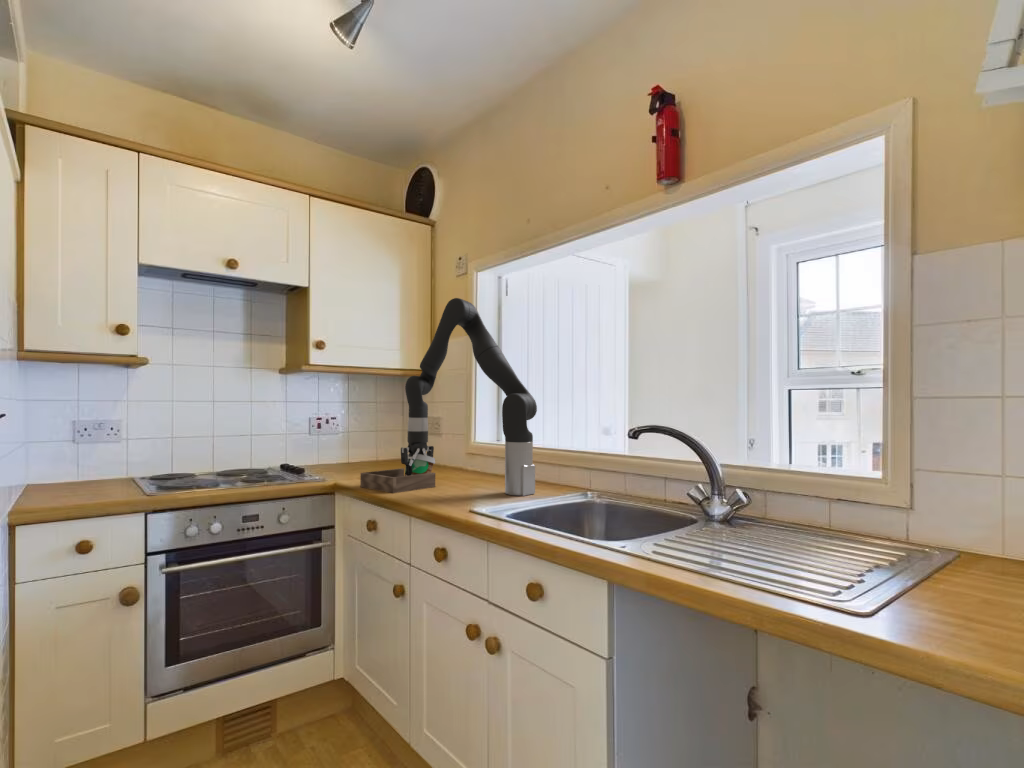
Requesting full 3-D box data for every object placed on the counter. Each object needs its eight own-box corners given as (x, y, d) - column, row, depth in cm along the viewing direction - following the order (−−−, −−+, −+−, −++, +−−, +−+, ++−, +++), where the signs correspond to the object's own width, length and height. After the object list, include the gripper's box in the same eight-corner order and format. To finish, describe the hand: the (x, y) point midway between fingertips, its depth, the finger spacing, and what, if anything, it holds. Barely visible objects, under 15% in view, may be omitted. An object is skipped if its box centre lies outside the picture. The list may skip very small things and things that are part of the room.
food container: (393, 479, 197) (399, 452, 200) (402, 482, 202) (408, 456, 206) (421, 481, 192) (427, 454, 195) (430, 485, 197) (436, 458, 201)
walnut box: (435, 486, 193) (435, 472, 193) (393, 493, 180) (393, 478, 180) (402, 481, 206) (402, 468, 206) (360, 486, 192) (360, 472, 193)
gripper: (408, 430, 192) (407, 477, 192) (439, 429, 203) (438, 474, 202) (395, 430, 197) (394, 475, 196) (426, 428, 208) (425, 472, 207)
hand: (417, 474), depth 199 cm, fingers closed on food container, 6 cm apart
